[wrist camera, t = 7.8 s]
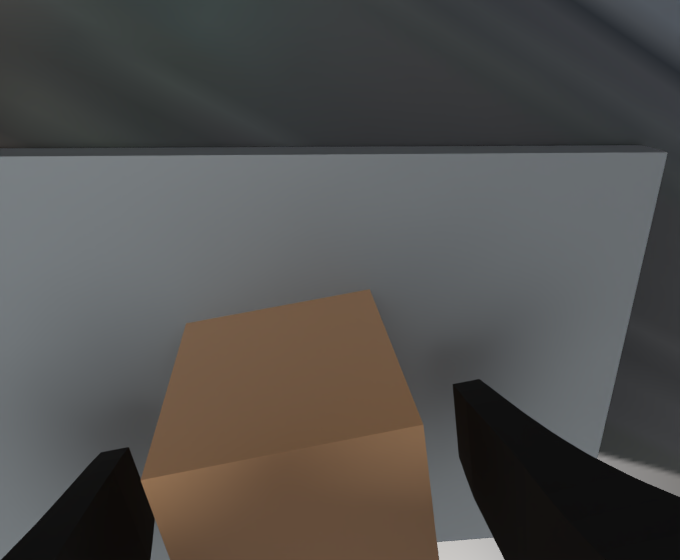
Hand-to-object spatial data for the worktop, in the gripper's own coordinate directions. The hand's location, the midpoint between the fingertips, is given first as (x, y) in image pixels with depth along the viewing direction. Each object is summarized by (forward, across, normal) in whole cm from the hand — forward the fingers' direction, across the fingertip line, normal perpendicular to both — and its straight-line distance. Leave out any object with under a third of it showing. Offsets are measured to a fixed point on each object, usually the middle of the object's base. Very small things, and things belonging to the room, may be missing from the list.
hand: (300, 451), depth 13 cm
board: (+4, 0, 0) cm, 4 cm away
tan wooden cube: (+3, 0, 0) cm, 3 cm away
